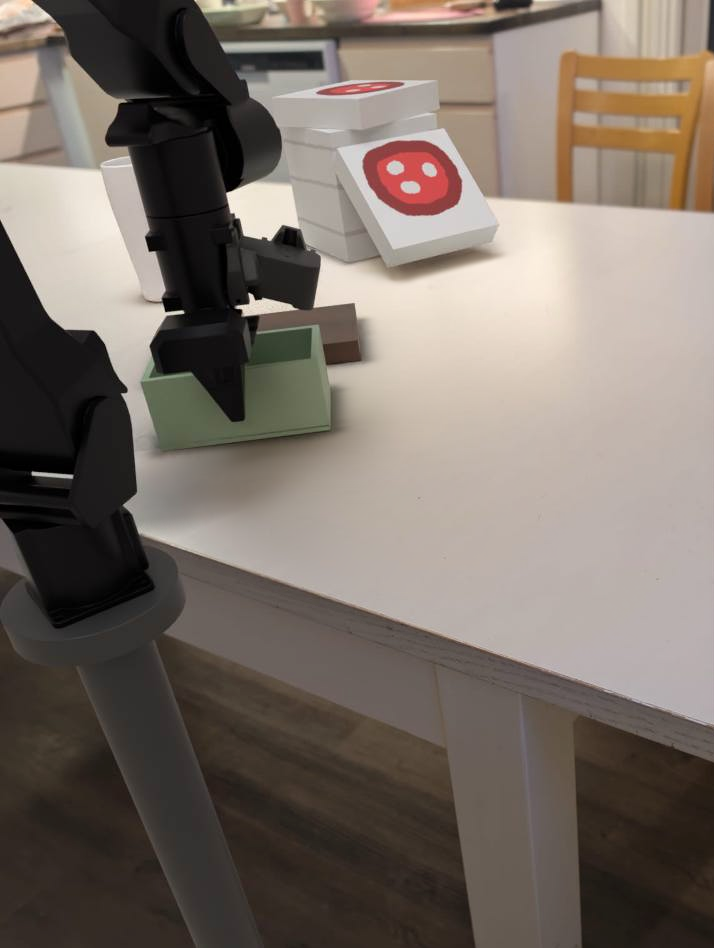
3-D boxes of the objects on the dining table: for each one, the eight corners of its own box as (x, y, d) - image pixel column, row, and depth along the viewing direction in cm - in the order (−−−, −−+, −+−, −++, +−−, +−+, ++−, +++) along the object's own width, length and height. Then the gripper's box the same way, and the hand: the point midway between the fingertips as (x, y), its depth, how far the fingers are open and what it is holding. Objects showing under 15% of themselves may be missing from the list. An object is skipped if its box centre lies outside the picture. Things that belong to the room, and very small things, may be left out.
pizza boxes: (383, 287, 110) (360, 113, 99) (283, 242, 131) (254, 94, 120) (517, 252, 117) (509, 87, 107) (402, 215, 138) (385, 74, 127)
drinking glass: (171, 285, 117) (135, 153, 109) (206, 291, 114) (173, 155, 105) (126, 301, 113) (86, 165, 104) (162, 308, 110) (123, 167, 101)
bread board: (361, 360, 91) (358, 339, 89) (153, 386, 89) (146, 365, 88) (357, 321, 100) (354, 302, 99) (169, 344, 99) (164, 325, 98)
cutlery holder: (330, 430, 78) (317, 359, 74) (161, 451, 77) (139, 381, 73) (330, 390, 85) (318, 324, 81) (175, 409, 84) (156, 343, 81)
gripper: (299, 224, 58) (340, 456, 67) (305, 173, 73) (338, 368, 82) (117, 245, 57) (184, 476, 66) (162, 189, 73) (211, 384, 82)
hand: (238, 420), depth 74 cm, fingers closed
